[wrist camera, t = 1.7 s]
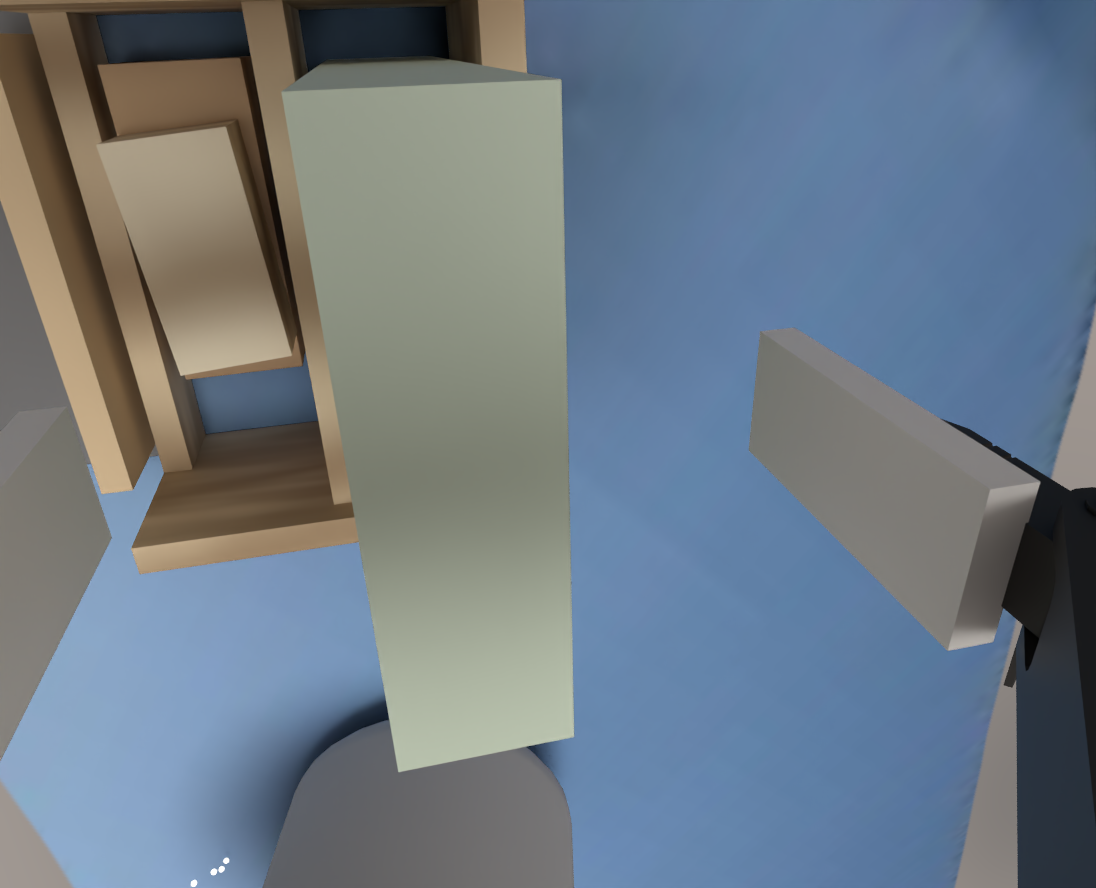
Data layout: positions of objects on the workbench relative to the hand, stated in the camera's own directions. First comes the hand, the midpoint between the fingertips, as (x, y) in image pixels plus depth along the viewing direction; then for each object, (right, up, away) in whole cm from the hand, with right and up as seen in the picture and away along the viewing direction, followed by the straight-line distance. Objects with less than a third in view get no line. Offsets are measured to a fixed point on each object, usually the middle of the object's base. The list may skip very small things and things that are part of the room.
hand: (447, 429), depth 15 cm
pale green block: (-4, +8, +15) cm, 17 cm away
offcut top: (-9, +6, +10) cm, 15 cm away
